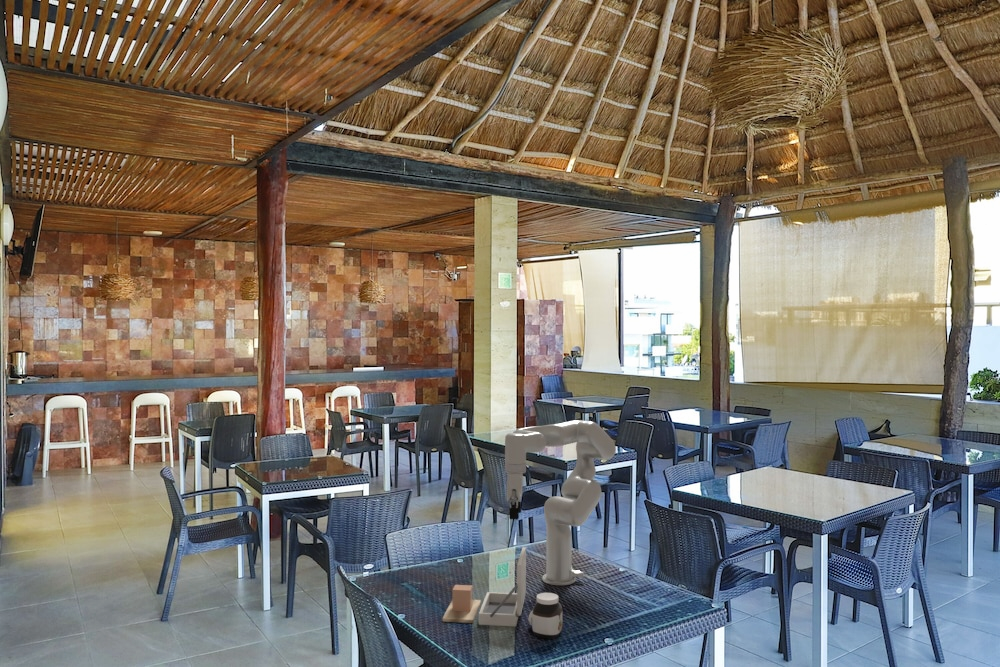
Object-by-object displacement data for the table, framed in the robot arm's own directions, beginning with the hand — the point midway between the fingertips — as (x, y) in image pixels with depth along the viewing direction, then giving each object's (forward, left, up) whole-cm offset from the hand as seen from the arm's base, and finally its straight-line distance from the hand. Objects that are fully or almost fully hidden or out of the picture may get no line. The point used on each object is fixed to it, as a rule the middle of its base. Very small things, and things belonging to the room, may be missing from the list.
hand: (515, 515), depth 253 cm
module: (+16, +18, -27) cm, 36 cm away
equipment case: (+3, +18, -28) cm, 34 cm away
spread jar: (-12, +31, -29) cm, 44 cm away
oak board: (+16, +18, -28) cm, 37 cm away
